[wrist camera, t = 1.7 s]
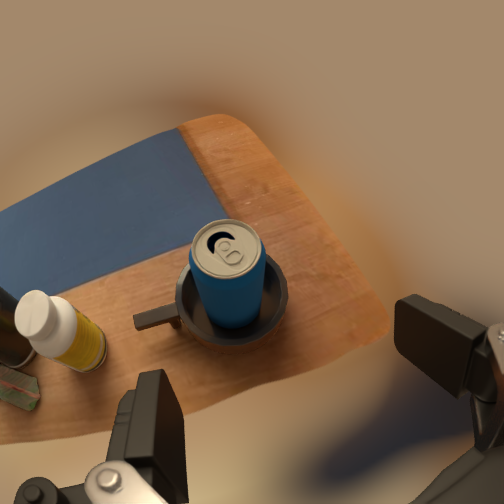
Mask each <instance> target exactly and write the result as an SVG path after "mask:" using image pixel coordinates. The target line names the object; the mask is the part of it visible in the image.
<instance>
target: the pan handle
mask: <svg viewBox="0 0 504 504" xmlns="http://www.w3.org/2000/svg"><path fill="white" fill-rule="evenodd" d="M133 319H134V324H135V328H136V329H137V330H138V331H141V330H144V329H147V328H151V327H154V326H158V325H161V324H164V323H168V322H169V323H170V324H171V326H172V327H173V328H174V329H175V328H178V327H181V326H182V325H181V322H180V319H181V318H180V316H179V312H178V309H177V305H176V302H175V303H172V304H168V305H165V306H162V307H158V308H155V309H152V310H149V311H145V312H142V313H139V314H135V315H133Z"/></svg>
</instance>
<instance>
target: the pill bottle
mask: <svg viewBox="0 0 504 504" xmlns="http://www.w3.org/2000/svg"><path fill="white" fill-rule="evenodd" d="M15 325H16V328H17V330H18V331H19V333H20V334H21V335H23V336H24V337H26V338H27V339H29V341H30V344H31V345H32V347H33V348H34V350H35V351H36V352H37V353H39V354H40V355H42V356H44V357H46V358H49V359H51V360H53V361H55V362H58V363H60V364H62V365H64V366H67V367H69V368H71V369H74V370H76V371H79V372H91V371H93V370H95V369H97V368H98V367H99V366H100V365H101V364H102V363H103V361H104V359H105V357H106V353H107V340H106V337H105V334H104V333H103V331H102V330H101V329H100V328H99V327H98V326H97V325H96V324H95V323H93V322H92V321H91V320H90V319H88V318H87V317H86V316H84V315H83V314H82V313H81V312H79V311H78V310H77V309H76V308H75V307H73V306H72V305H71V304H70V303H69V302H67V301H66V300H65V299H63V298H60V297H56V296H51V297H48V296H47V295H46V294H45V293H43V292H41V291H39V290H33V291H30V292H28V293H27V294H25V295H24V296H23V297H22V298H21V300H20V301H19V303H18V305H17V308H16V311H15Z"/></svg>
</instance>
